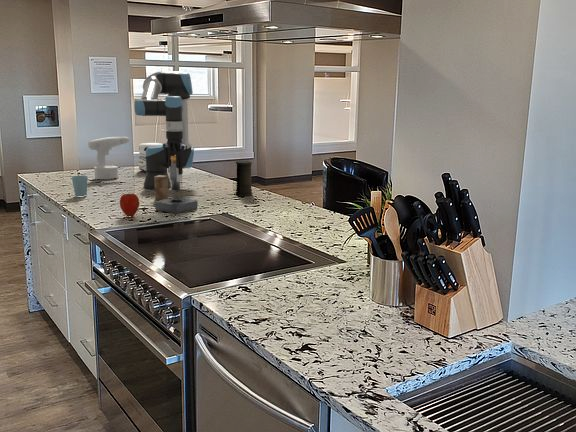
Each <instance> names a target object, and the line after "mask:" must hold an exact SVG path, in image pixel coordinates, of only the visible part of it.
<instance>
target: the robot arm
mask: <svg viewBox="0 0 576 432" xmlns="http://www.w3.org/2000/svg"><path fill="white" fill-rule="evenodd" d="M192 84H193V83H192V78H191V74H190V73H189V72H186V71H185V72H183V71H157V72H154V73H152V74H149V75H148V76H147V77H146V78H145V79H144V81H143V83H142V90H143V91H142V94H141V99H140V98H139V99H135V101H134V104H133V105H134V112H135V115H136V116H140V117H141V116H142V117H146V116H147V117H151V116H152V117H165V129H166V130H165V138H166V139H167V140H166V142H165V143H162V144H163V145H157V146H152V147H148V148H147V149H146V156H145V157H146V172H145V173H146V175H145V178H144V182H143V188H145V189H148V190H155V185H154V176H158V175H165V176H168V189H170V188H172V187H171V155H176V160H177V166H178V167H177V168H176V173H177V182H179V181H180V182H182V181H183V173H184V171H183V169H190V168H192V167H193V162H194V154H195V153H194V152H195V148H194V147H192V144H191V143H190V141H189V116H188V113H189V112H188V102H189V101H188V100H190V98H191V95H193V94H194V93H193V86H192ZM159 95H167V96H165V98H164V99H159Z"/></svg>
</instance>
